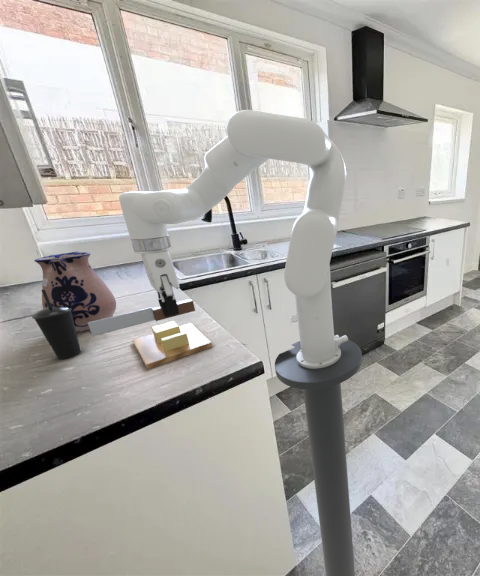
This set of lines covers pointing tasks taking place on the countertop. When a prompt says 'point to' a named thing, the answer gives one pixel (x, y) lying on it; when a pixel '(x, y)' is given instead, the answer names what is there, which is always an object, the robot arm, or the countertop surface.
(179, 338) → the butter slice
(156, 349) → the board
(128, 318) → the knife
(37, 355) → the countertop surface
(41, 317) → the drinking cup
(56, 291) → the ceramic pitcher
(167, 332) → the butter block
